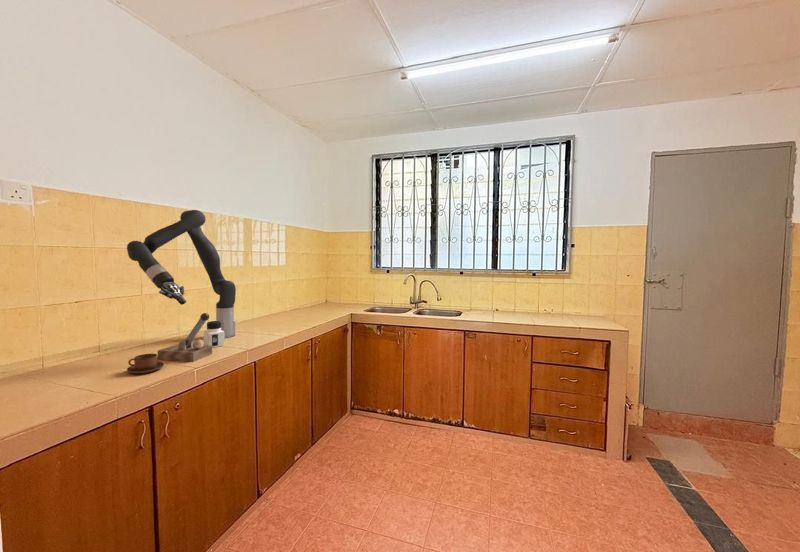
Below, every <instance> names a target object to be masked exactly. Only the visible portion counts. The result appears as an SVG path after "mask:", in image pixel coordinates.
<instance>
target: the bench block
mask: <svg viewBox="0 0 800 552" xmlns="http://www.w3.org/2000/svg"><path fill="white" fill-rule="evenodd" d="M185 340H186V338H185V339H184V340H178V343H176V344H174V345H170V346H167V347H165V348H161V349H158V350H157V360H166V361H167V360H168V361H177V362H178V361H180V362H192V363H193V362H196V361H199V360H201V359H203V358H206V357H208V356H210V355H211V356H212V354H213V348H212V346H207V345H204V340H202V339H200V338H199V339H195V340H194V339H193V340H192V342H191V343H190V346H189V347H187V348H186V341H185Z"/></svg>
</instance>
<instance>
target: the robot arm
mask: <svg viewBox="0 0 800 552" xmlns="http://www.w3.org/2000/svg"><path fill="white" fill-rule="evenodd" d="M179 218H180V220H178V221H177V222H176V221H175V222H174V223H172V224H169V225H166V226H165V227H162V228H160V229H158V230H156V231H154V232H151V234H148V235H147V236H146V237H145V238H144V240H143V242H142V241H140V240H132V241H130V242H128V244H127V245H126V251H127V255H128V258H129V259H130V260H131V261H134V262H137V263H138V266H139V267H140V269H141V270H142V271H143V272H144V274H145V275H146V276H147V278H148V279H149V280H150V281H151V282H152V283H153V284H154V285H155V287H157V289H160V290H159V291H158V293H159V294H161V295H162V296H164V297H167V298H168V299H170V300H171V299H172V300H176V301H177V302H178V303H179V304H180V306H181V305H182V306H183V305H186V303H187V300H186V299H185V298H184V295H185V286H184V285H183V286H179V285H178V284H177V283H176V282H175V278H174V277H173V275H172V274H171V273H170V272H169V271H167V269H166V268H165V267H164V266H162V265H161V263H160V262H159V261H158V260H157V259H156V258H155V257H154V255H153V254H154V253H155V252H156V251H157V249H159V248H161V247H163V246H164V245H165V244H167V243H169V242H171V241H172V240H174V239H176V238H178V237H179V236H181V235H183V234H185V233H187V234H188V236H189V238H190V240H191V242H192V244H193V246H194V249H195V250H196V252H197V255H198V257H199V259H200V262H201V263H202V266H203V267H204V270H205V271H206V273H207V275H208V278H209V281H210V284H211V287H212V289H213V291H214V293H215V294H216V295H218V296H219V300H218V301H217V302H216V304H215V316H216V317H215V319H216V320H215V321H220V322H221V329H220V330H222V331H224V339H225V338H232V337H234V336H236V319H235V311H234V310H235V306H234V305H235V302H236V295H237V293H236V292H237V288H236V285H235V283H234V282H233V281H231V280H226V279H225V276H224V275H223V273H222V271H221V259H220V254H219V253H218V251H217V249H216V246H215V245H214V244H213V243H212V242H211V240H209V238H208V237H207V236H206V235H205V233H204V231H203V229H202V226H203V225H204V224H205V222H206V215H205V214H204V213H203V212H202V211H201V210H198V209H190V210H185V211H182V212H181V213H180V217H179Z"/></svg>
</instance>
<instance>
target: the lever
mask: <svg viewBox="0 0 800 552" xmlns="http://www.w3.org/2000/svg"><path fill="white" fill-rule="evenodd" d="M209 319H210V314H208V313H207V312H204V313H201V315H200V317H199V319H198V321H197V322H196V324H195V325H194V327H193V328H192V330H191V331H190V332H189V334H188V335H187V337H186V338H185V339H186V340H185V339H184V341H186V348H187V347H189V346H190V343H191V342H192V340H193V341H194V339H195V337H196V335H197V334H198V333H199V332H200V330H201V329H202V328H203V326H204V325H205V323H207V322H206V321H208V320H209Z"/></svg>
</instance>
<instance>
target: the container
mask: <svg viewBox="0 0 800 552" xmlns="http://www.w3.org/2000/svg"><path fill="white" fill-rule="evenodd" d="M220 329H221V322H220V321H216V320H210V321H208V322H206V330H203V343H204V345H207V346H212V349H213V348H216V347H217V348H218V347H224V346H225V338H224V331H222V330H220Z"/></svg>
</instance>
